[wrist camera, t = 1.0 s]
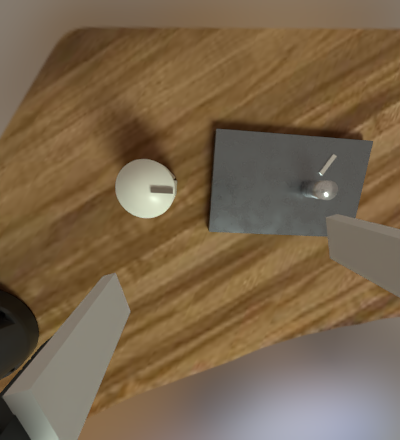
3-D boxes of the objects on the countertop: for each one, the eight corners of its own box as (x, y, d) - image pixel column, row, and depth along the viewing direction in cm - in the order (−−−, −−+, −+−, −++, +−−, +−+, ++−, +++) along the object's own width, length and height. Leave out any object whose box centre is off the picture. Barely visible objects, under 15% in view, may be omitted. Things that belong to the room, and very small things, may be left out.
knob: (133, 207, 29) (115, 217, 22) (132, 161, 27) (113, 156, 20) (177, 209, 29) (173, 219, 22) (178, 164, 28) (175, 160, 21)
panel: (207, 228, 30) (212, 240, 25) (214, 131, 27) (221, 120, 22) (343, 234, 32) (374, 246, 26) (363, 142, 29) (403, 135, 23)
